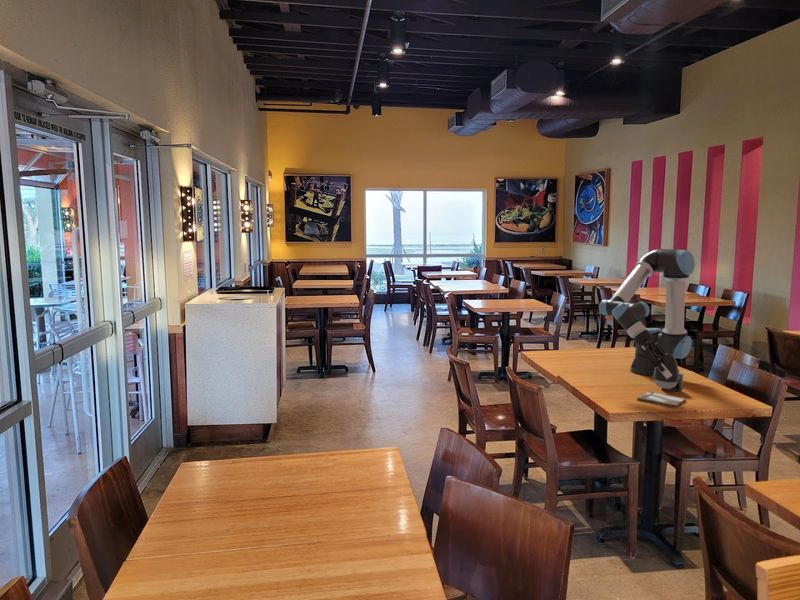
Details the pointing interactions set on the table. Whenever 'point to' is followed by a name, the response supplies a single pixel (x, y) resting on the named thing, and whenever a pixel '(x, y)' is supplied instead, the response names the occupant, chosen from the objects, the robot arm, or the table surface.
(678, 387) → the electrical switch
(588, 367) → the table surface
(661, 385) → the dark grey egg shape
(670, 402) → the chart board
